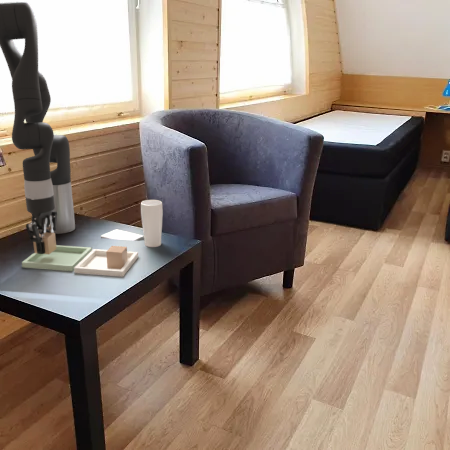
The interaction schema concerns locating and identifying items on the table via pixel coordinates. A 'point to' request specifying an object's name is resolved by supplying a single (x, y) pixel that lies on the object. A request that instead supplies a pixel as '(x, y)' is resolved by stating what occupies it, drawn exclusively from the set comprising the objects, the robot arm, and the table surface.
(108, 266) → the tan block
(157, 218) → the drinking glass
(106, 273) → the tray
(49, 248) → the tan boxy piece
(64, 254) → the tray
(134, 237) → the external hard drive
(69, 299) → the table surface
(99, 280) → the table surface
